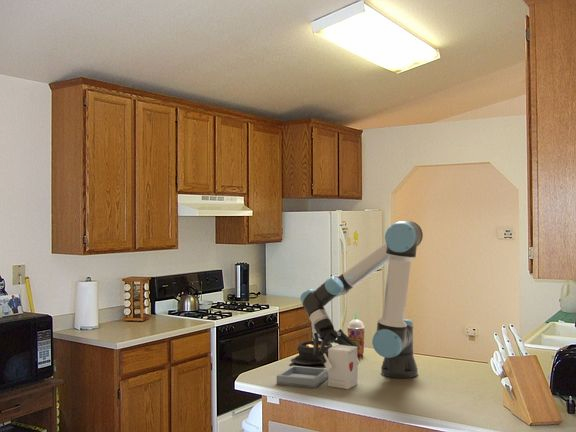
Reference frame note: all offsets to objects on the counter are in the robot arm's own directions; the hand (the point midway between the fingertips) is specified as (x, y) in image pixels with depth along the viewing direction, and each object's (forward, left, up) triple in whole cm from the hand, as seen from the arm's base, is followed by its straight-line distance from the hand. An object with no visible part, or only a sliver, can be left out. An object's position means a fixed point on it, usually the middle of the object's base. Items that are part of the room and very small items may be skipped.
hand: (344, 367), depth 234 cm
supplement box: (+1, -1, -8) cm, 8 cm away
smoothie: (+10, -49, -8) cm, 50 cm away
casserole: (+24, -31, -8) cm, 40 cm away
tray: (+18, -1, -7) cm, 19 cm away
